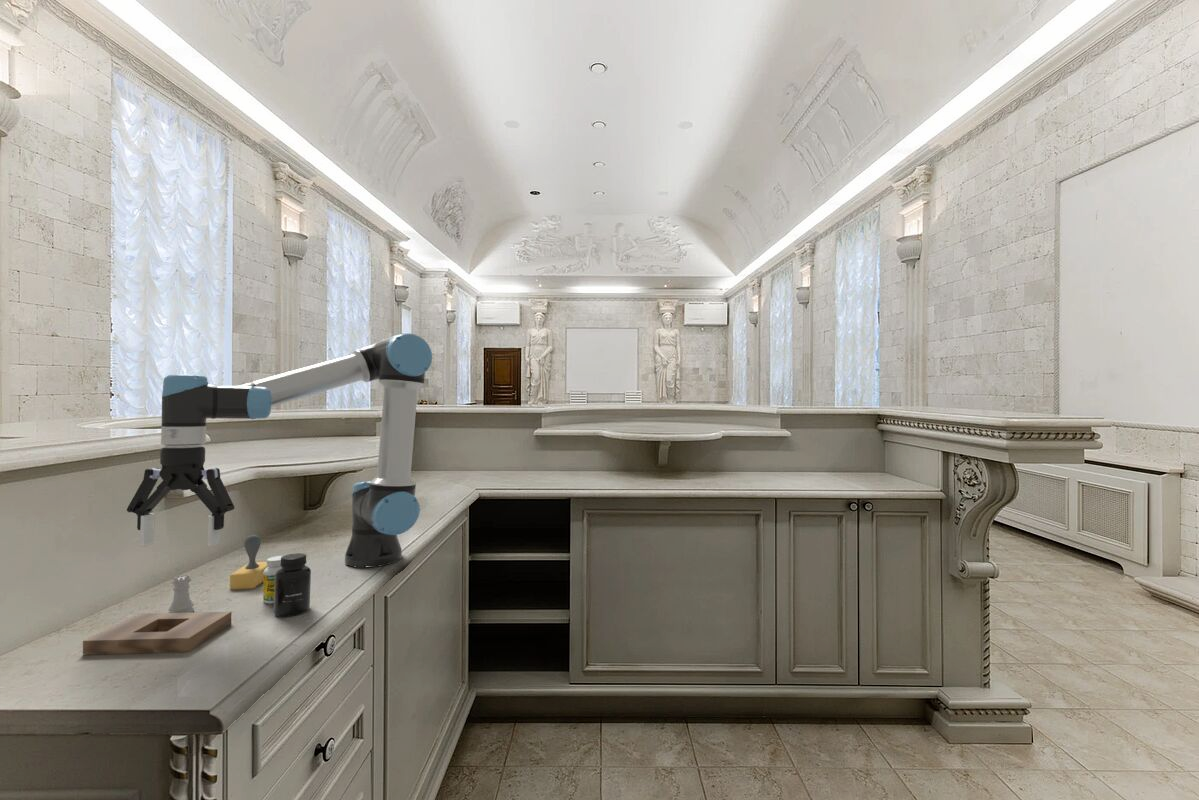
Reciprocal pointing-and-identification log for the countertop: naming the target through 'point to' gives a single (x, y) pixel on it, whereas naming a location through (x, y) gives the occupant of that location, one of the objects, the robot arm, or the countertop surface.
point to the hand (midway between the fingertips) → (180, 545)
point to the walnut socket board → (158, 633)
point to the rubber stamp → (249, 567)
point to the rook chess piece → (181, 596)
